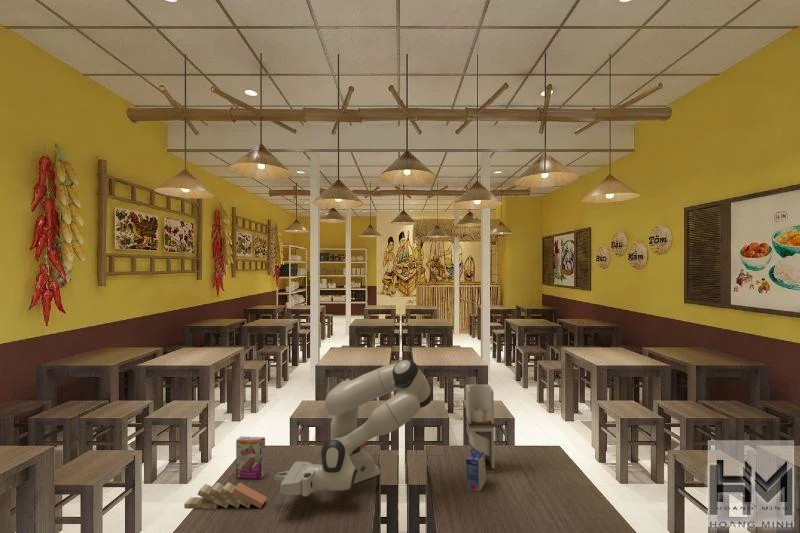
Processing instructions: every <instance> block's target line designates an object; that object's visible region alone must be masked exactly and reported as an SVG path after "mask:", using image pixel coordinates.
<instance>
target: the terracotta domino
mask: <svg viewBox="0 0 800 533" xmlns="http://www.w3.org/2000/svg"><path fill="white" fill-rule="evenodd" d="M235 486H236V487H235V488H234V490H233V492H232V494H234V495H236V496H238V497H240V498H242V499H244V500H245V501H247V502H249V503H251V505H253V506H255V507H256V508H258V509H260V510H261V509H262V507H263V505H264V504H265V502H266V501H267V499H268V497H267V496H266V495H263V494H262V493H260V492H258V491H256V490H254V489H253V488H250V487H249V486H247V485H245V484H243V483H241V482H238V483H237V485H235Z"/></svg>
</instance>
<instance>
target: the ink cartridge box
mask: <svg viewBox="0 0 800 533" xmlns="http://www.w3.org/2000/svg"><path fill="white" fill-rule="evenodd" d="M473 450H474V451H473ZM465 466H466V467H465V468H466V483H467V484H466V485H467V486H466V487H467V490H469V491H475V492H481V491H482V488H483V487H484V485H485V484H486V482H487V479H486V478H487V476H486V474H487V473H486V472H485V452H480V451H475V449H474V448H472V449H471V454H470V455H469V454H468V456H467V457H466V459H465Z"/></svg>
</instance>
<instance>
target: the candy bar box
mask: <svg viewBox="0 0 800 533" xmlns="http://www.w3.org/2000/svg"><path fill="white" fill-rule="evenodd" d="M235 444H236V445H235V448H236V449H235V454H236V455H235V456H236V457H235V459H236V461H235V463H236V464H235V466H236V471H235V472H236V477H235V478H236V479H247V480H249V479H251V480H261V479H263V478H264V477H265V476H266V437H265V436H264V437H263V436H241V435H240V436H239V438H237V439H236V442H235Z"/></svg>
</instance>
